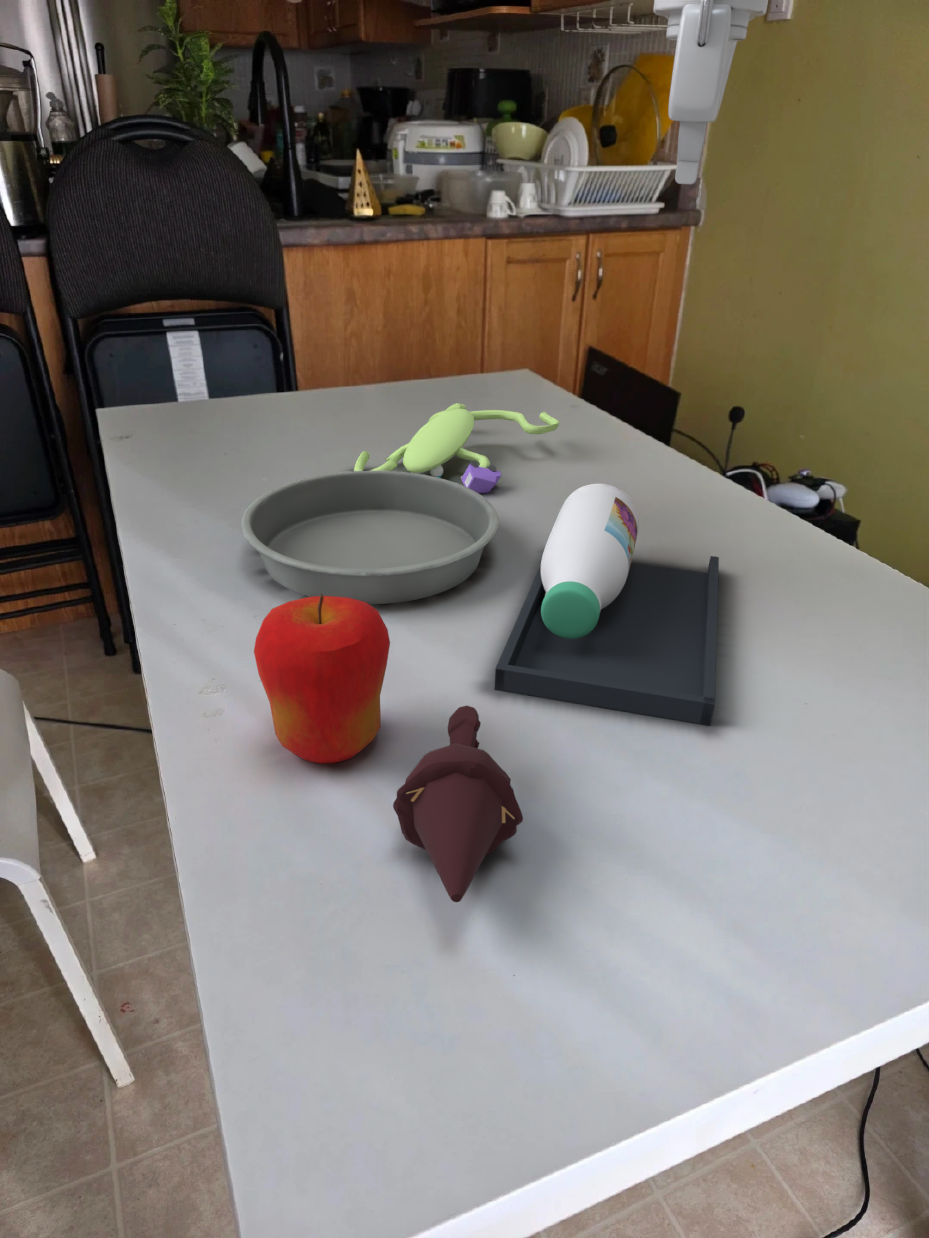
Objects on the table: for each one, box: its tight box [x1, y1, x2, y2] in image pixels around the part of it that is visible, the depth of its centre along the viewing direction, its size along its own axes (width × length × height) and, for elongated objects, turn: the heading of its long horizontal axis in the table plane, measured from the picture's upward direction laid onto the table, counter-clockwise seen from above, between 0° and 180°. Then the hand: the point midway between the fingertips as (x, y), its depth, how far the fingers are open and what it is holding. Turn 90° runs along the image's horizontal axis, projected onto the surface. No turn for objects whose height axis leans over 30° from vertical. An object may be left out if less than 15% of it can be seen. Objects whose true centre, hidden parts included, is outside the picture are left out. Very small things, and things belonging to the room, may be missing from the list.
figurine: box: [353, 402, 560, 494], centre depth 110 cm, size 18×27×6 cm
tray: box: [494, 555, 720, 727], centre depth 76 cm, size 26×16×2 cm, turn 165°
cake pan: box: [240, 470, 500, 605], centre depth 86 cm, size 25×25×4 cm
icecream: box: [392, 705, 524, 903], centre depth 51 cm, size 7×7×15 cm
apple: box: [253, 593, 391, 765], centre depth 58 cm, size 9×8×12 cm
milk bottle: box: [540, 483, 640, 639], centre depth 78 cm, size 8×8×20 cm
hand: (685, 183), depth 76 cm, fingers closed
